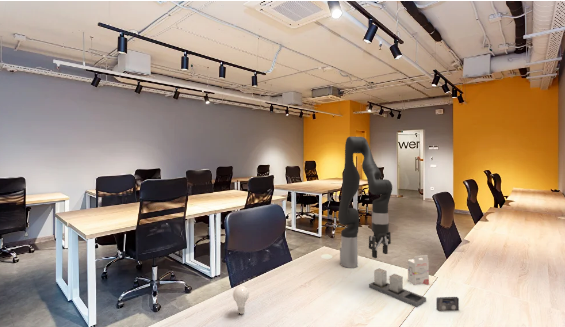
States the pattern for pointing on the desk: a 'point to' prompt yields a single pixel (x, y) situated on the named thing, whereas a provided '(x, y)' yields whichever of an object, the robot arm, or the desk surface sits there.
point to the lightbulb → (241, 298)
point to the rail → (401, 295)
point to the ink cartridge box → (418, 270)
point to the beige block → (396, 284)
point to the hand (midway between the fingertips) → (379, 255)
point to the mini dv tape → (447, 303)
